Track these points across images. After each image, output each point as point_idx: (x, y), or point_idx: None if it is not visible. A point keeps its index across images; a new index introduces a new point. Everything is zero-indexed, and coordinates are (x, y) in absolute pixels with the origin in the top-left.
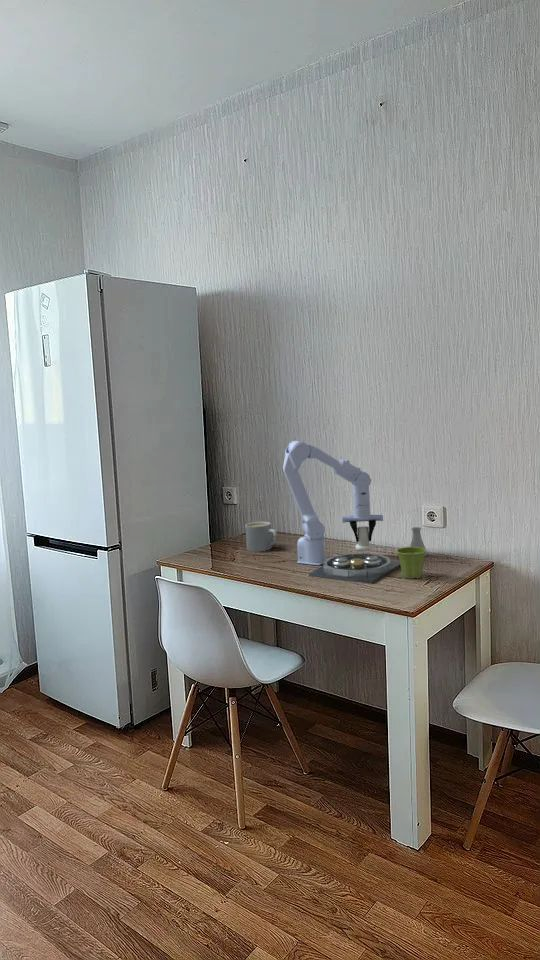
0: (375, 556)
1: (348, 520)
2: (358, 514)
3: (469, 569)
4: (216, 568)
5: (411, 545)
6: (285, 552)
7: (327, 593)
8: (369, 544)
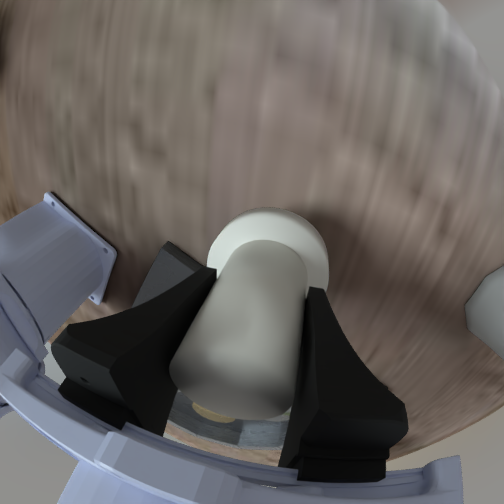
0: (286, 411)
1: (58, 405)
2: None
3: (472, 420)
4: None
5: (494, 341)
6: (2, 100)
7: (171, 434)
8: (310, 275)
